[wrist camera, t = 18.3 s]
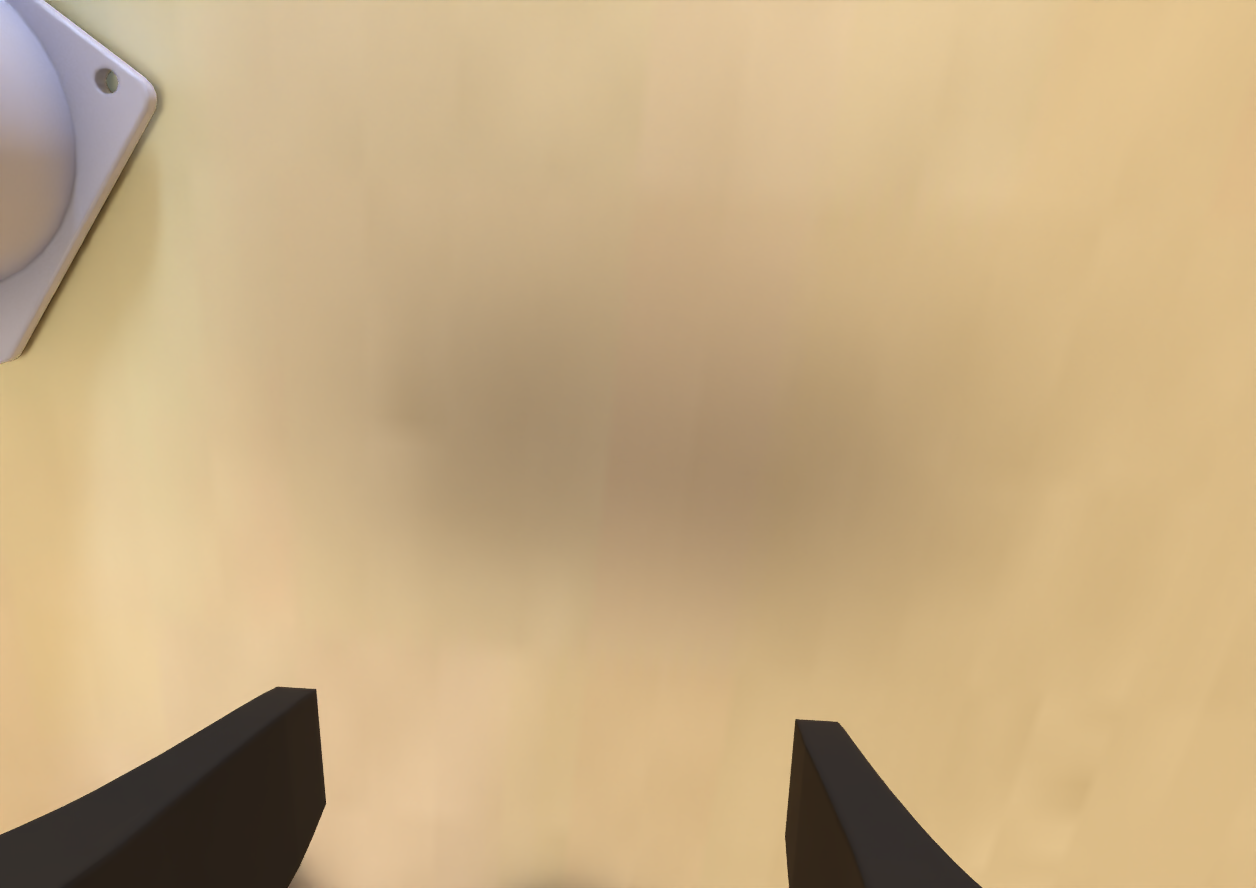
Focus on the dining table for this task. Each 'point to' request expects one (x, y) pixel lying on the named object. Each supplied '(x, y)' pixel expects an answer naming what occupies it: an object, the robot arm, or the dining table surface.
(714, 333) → the dining table surface
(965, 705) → the dining table surface
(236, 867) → the robot arm
